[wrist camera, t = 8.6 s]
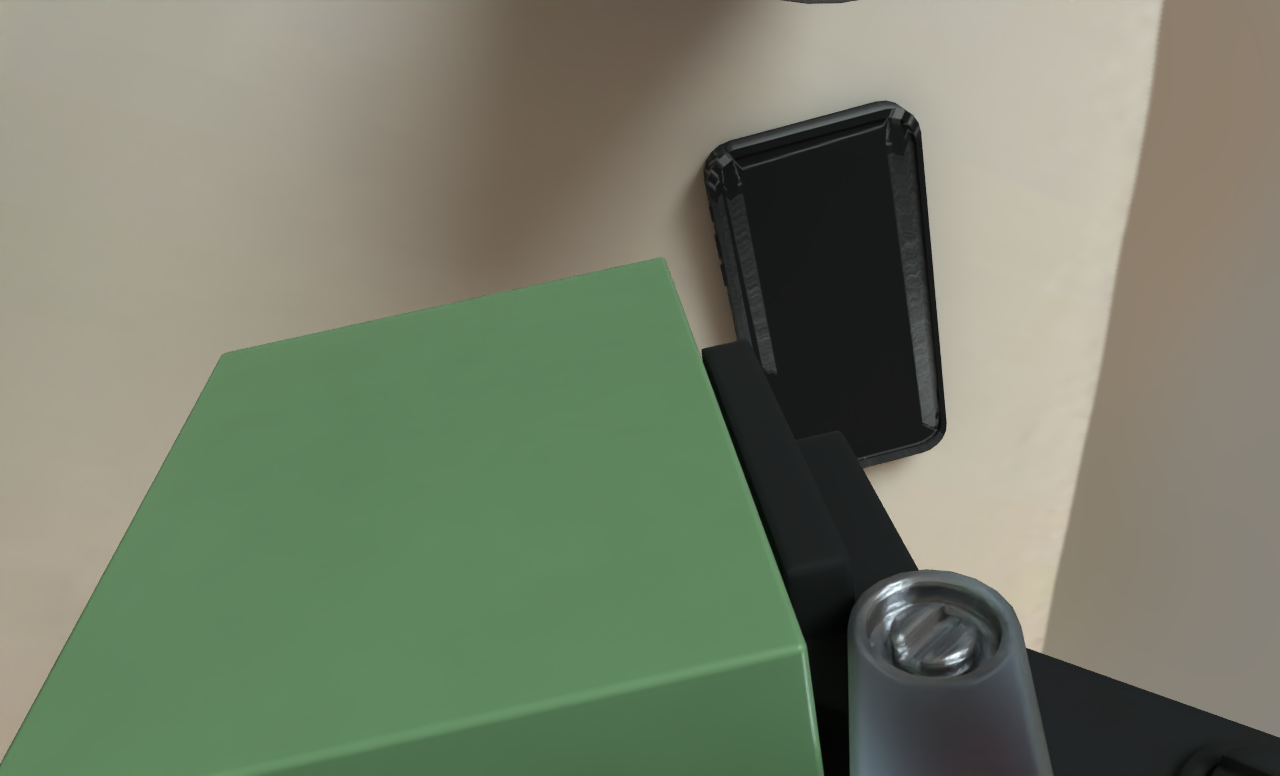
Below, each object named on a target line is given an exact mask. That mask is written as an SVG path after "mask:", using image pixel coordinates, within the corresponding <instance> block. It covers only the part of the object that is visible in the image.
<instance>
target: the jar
mask: <svg viewBox="0 0 1280 776" xmlns="http://www.w3.org/2000/svg"><path fill="white" fill-rule="evenodd" d="M783 1H791V2H799V3H807V4H819V3H844V2H850V1H856V0H783Z"/></svg>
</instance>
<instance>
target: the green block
mask: <svg viewBox="0 0 1280 776" xmlns="http://www.w3.org/2000/svg"><path fill="white" fill-rule="evenodd" d="M0 776H824V770H823V763H822V755H821V748H820V740H819V733H818V725H817V718H816V710H815V703H814V695H813V688H812V680H811V673H810V665H809V658H808V650H807V645H806V642H805V640H804V637H803V634H802V632H801V629H800V626H799V623H798V621H797V618H796V615H795V612H794V610H793V607H792V604H791V602H790V599H789V596H788V593H787V591H786V588H785V585H784V582H783V580H782V577H781V574H780V572H779V569H778V566H777V563H776V561H775V558H774V555H773V552H772V550H771V547H770V544H769V541H768V539H767V536H766V533H765V531H764V528H763V525H762V522H761V520H760V517H759V514H758V511H757V509H756V506H755V503H754V501H753V498H752V495H751V492H750V490H749V487H748V484H747V481H746V479H745V476H744V473H743V471H742V468H741V465H740V462H739V460H738V457H737V454H736V451H735V449H734V446H733V443H732V441H731V438H730V435H729V432H728V430H727V427H726V424H725V421H724V419H723V416H722V413H721V410H720V408H719V405H718V402H717V400H716V397H715V394H714V391H713V389H712V386H711V383H710V380H709V378H708V375H707V372H706V370H705V367H704V364H703V361H702V359H701V356H700V353H699V350H698V348H697V345H696V342H695V340H694V337H693V334H692V331H691V329H690V326H689V323H688V320H687V318H686V315H685V312H684V309H683V307H682V304H681V301H680V299H679V296H678V293H677V290H676V288H675V285H674V282H673V279H672V277H671V274H670V271H669V269H668V266H667V263H666V261H665V259H664V258H655V259H651V260H646V261H642V262H637V263H632V264H628V265H623V266H619V267H614V268H610V269H605V270H601V271H596V272H591V273H587V274H582V275H578V276H573V277H569V278H564V279H560V280H555V281H551V282H546V283H541V284H537V285H532V286H528V287H523V288H519V289H514V290H510V291H505V292H500V293H496V294H491V295H487V296H482V297H478V298H473V299H469V300H464V301H459V302H455V303H450V304H446V305H441V306H437V307H432V308H428V309H423V310H419V311H414V312H409V313H405V314H400V315H396V316H391V317H387V318H382V319H378V320H373V321H368V322H364V323H359V324H355V325H350V326H346V327H341V328H337V329H332V330H327V331H323V332H318V333H314V334H309V335H305V336H300V337H296V338H291V339H287V340H282V341H277V342H273V343H268V344H264V345H259V346H255V347H250V348H246V349H241V350H236V351H232V352H227V353H224V354H223V355H222V356H221V357H220V359H219V361H218V363H217V365H216V367H215V368H214V370H213V372H212V374H211V376H210V378H209V380H208V381H207V383H206V385H205V387H204V389H203V391H202V392H201V394H200V396H199V398H198V400H197V402H196V404H195V405H194V407H193V409H192V411H191V413H190V415H189V416H188V418H187V420H186V422H185V424H184V426H183V428H182V429H181V431H180V433H179V435H178V437H177V439H176V440H175V442H174V444H173V446H172V448H171V450H170V452H169V453H168V455H167V457H166V459H165V461H164V463H163V464H162V466H161V468H160V470H159V472H158V474H157V476H156V477H155V479H154V481H153V483H152V485H151V487H150V488H149V490H148V492H147V494H146V496H145V498H144V500H143V501H142V503H141V505H140V507H139V509H138V511H137V512H136V514H135V516H134V518H133V520H132V522H131V524H130V525H129V527H128V529H127V531H126V533H125V535H124V536H123V538H122V540H121V542H120V544H119V546H118V548H117V549H116V551H115V553H114V555H113V557H112V559H111V560H110V562H109V564H108V566H107V568H106V570H105V572H104V573H103V575H102V577H101V579H100V581H99V583H98V584H97V586H96V588H95V590H94V592H93V594H92V596H91V597H90V599H89V601H88V603H87V605H86V607H85V608H84V610H83V612H82V614H81V616H80V618H79V620H78V621H77V623H76V625H75V627H74V629H73V631H72V632H71V634H70V636H69V638H68V640H67V642H66V644H65V645H64V647H63V649H62V651H61V653H60V655H59V656H58V658H57V660H56V662H55V664H54V666H53V668H52V669H51V671H50V673H49V675H48V677H47V679H46V680H45V682H44V684H43V686H42V688H41V690H40V692H39V693H38V695H37V697H36V699H35V701H34V703H33V704H32V706H31V708H30V710H29V712H28V714H27V716H26V717H25V719H24V721H23V723H22V725H21V727H20V728H19V730H18V732H17V734H16V736H15V738H14V740H13V741H12V743H11V745H10V747H9V749H8V751H7V752H6V754H5V756H4V758H3V760H2V762H1V764H0Z"/></svg>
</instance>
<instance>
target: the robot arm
mask: <svg viewBox="0 0 1280 776" xmlns="http://www.w3.org/2000/svg"><path fill="white" fill-rule="evenodd" d="M702 359H703V364H704V367H705V370H706V372H707V375H708V378H709V380H710V383H711V386H712V389H713V391H714V394H715V397H716V400H717V402H718V405H719V408H720V410H721V413H722V416H723V419H724V421H725V424H726V427H727V430H728V432H729V435H730V438H731V441H732V443H733V446H734V449H735V451H736V454H737V457H738V460H739V462H740V465H741V468H742V471H743V473H744V476H745V479H746V481H747V484H748V487H749V490H750V492H751V495H752V498H753V501H754V503H755V506H756V509H757V511H758V514H759V517H760V520H761V522H762V525H763V528H764V531H765V533H766V536H767V539H768V541H769V544H770V547H771V550H772V552H773V555H774V558H775V561H776V563H777V566H778V569H779V572H780V574H781V577H782V580H783V582H784V585H785V588H786V591H787V593H788V596H789V599H790V602H791V604H792V607H793V610H794V612H795V615H796V618H797V621H798V623H799V626H800V629H801V632H802V634H803V637H804V640H805V642H806V645H807V650H808V658H809V665H810V673H811V680H812V688H813V695H814V703H815V710H816V718H817V725H818V733H819V740H820V748H821V755H822V763H823V770H824V776H1280V738H1279V737H1276V736H1273V735H1271V734H1267V733H1265V732H1262V731H1259V730H1256V729H1254V728H1251V727H1248V726H1245V725H1242V724H1239V723H1237V722H1234V721H1231V720H1228V719H1225V718H1223V717H1220V716H1217V715H1214V714H1211V713H1208V712H1206V711H1202V710H1200V709H1197V708H1194V707H1191V706H1188V705H1186V704H1183V703H1180V702H1177V701H1174V700H1172V699H1169V698H1166V697H1163V696H1160V695H1158V694H1154V693H1152V692H1149V691H1146V690H1143V689H1141V688H1138V687H1135V686H1132V685H1129V684H1127V683H1124V682H1121V681H1118V680H1115V679H1112V678H1110V677H1107V676H1104V675H1101V674H1098V673H1095V672H1093V671H1090V670H1087V669H1084V668H1081V667H1079V666H1076V665H1073V664H1070V663H1067V662H1064V661H1062V660H1059V659H1056V658H1053V657H1050V656H1047V655H1044V654H1042V653H1039V652H1036V651H1033V650H1031V649H1028V648H1026V646H1025V642H1024V637H1023V632H1022V628H1021V625H1020V622H1019V620H1018V618H1017V616H1016V613H1015V611H1014V609H1013V607H1012V606H1011V605H1010V604H1009V603H1008V602H1007V601H1006V600H1005V599H1004V598H1003V597H1002V596H1001V595H1000V594H999V593H998V592H997V591H996V590H994V589H993V588H991V587H989V586H987V585H986V584H984V583H982V582H981V581H979V580H977V579H975V578H971V577H968V576H965V575H961V574H958V573H955V572H951V571H939V570H927V569H925V570H918V568H917V566H916V564H915V563H914V561H913V559H912V557H911V555H910V554H909V552H908V550H907V548H906V546H905V545H904V543H903V541H902V539H901V537H900V536H899V534H898V532H897V530H896V528H895V526H894V525H893V523H892V521H891V519H890V517H889V516H888V514H887V512H886V510H885V508H884V507H883V505H882V503H881V501H880V499H879V498H878V496H877V494H876V492H875V490H874V489H873V487H872V485H871V483H870V481H869V479H868V478H867V476H866V474H865V472H864V470H863V469H862V467H861V465H860V463H859V461H858V460H857V458H856V456H855V454H854V452H853V451H852V449H851V447H850V445H849V443H848V441H847V440H846V438H845V437H844V435H843V434H842V433H841V432H839V431H833V432H829V433H824V434H820V435H815V436H811V437H806V438H802V439H797V440H795V438H794V436H793V434H792V432H791V429H790V427H789V425H788V423H787V421H786V419H785V417H784V415H783V412H782V410H781V408H780V406H779V404H778V402H777V400H776V398H775V395H774V393H773V391H772V389H771V387H770V385H769V383H768V380H767V378H766V376H765V374H764V372H763V370H762V368H761V366H760V363H759V361H758V359H757V357H756V355H755V353H754V351H753V348H752V346H751V344H750V342H749V341H748V339H745V340H741V341H736V342H732V343H727V344H722V345H718V346H713V347H709V348H704V349H702Z"/></svg>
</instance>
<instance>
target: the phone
mask: <svg viewBox="0 0 1280 776" xmlns="http://www.w3.org/2000/svg"><path fill="white" fill-rule="evenodd" d="M704 181H705V186H706V191H707V196H708V201H709V205H710V206H709V209H710V214H711V219H712V222H713V225H714V229H715V240H716V245H717V249H718V254H719V258H720V259H721V263H722V264H721V265H720V266H721V271H722V276H723V280H724V285H725V286H726V287H727V292H728V296H729V301H730V306H731V311H732V316H733V320H734V325H735V330H736V335H737V340H738V341H741V340H745V339H748V341H749V342H750V344H751V346H752V348H753V351H754V353H755V355H756V357H757V359H758V361H759V363H760V366H761V368H762V370H763V372H764V374H765V376H766V378H767V380H768V383H769V385H770V387H771V389H772V391H773V393H774V395H775V398H776V400H777V402H778V404H779V406H780V408H781V410H782V412H783V415H784V417H785V419H786V421H787V423H788V425H789V427H790V429H791V432H792V434H793V436H794V438H795V440H797V439H802V438H806V437H811V436H815V435H820V434H824V433H829V432H833V431H839V432H841V433H842V434H843V435H844V437H845V438H846V440H847V441H848V443H849V445H850V447H851V449H852V451H853V452H854V454H855V456H856V458H857V460H858V461H859V463H860V465H861V467H862V468H866V467H869V466H873V465H877V464H881V463H885V462H889V461H892V460H896V459H900V458H904V457H908V456H911V455H915V454H919V453H923V452H925V451H928V450H930V449H932V448H933V447H934V446H936V445H937V444H938V443H939V442H940V441H941V439H942V438H943V436H944V434H945V432H946V424H947V423H946V411H945V400H944V389H943V377H942V366H941V355H940V343H939V332H938V320H937V309H936V298H935V286H934V275H933V264H932V252H931V241H930V230H929V218H928V207H927V195H926V184H925V173H924V161H923V150H922V139H921V131H920V127H919V123H918V122H917V120H916V119H915V117H914V116H913V115H912V114H910V113H909V112H908V111H906V110H905V109H903V108H902V107H900V106H899V105H897V104H896V103H893V102H889V101H878V102H873V103H869V104H865V105H862V106H858V107H854V108H851V109H847V110H843V111H839V112H836V113H832V114H828V115H824V116H821V117H817V118H813V119H810V120H806V121H802V122H798V123H795V124H791V125H787V126H784V127H780V128H776V129H772V130H769V131H765V132H761V133H757V134H754V135H750V136H746V137H743V138H739V139H735V140H731V141H728V142H726V143H724V144H721V145H719V146H718V147H717V148H716V149H715V150H714V151H712V153H711V154H710V156H709V157H708V159H707V160H706V164H705V168H704Z"/></svg>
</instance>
